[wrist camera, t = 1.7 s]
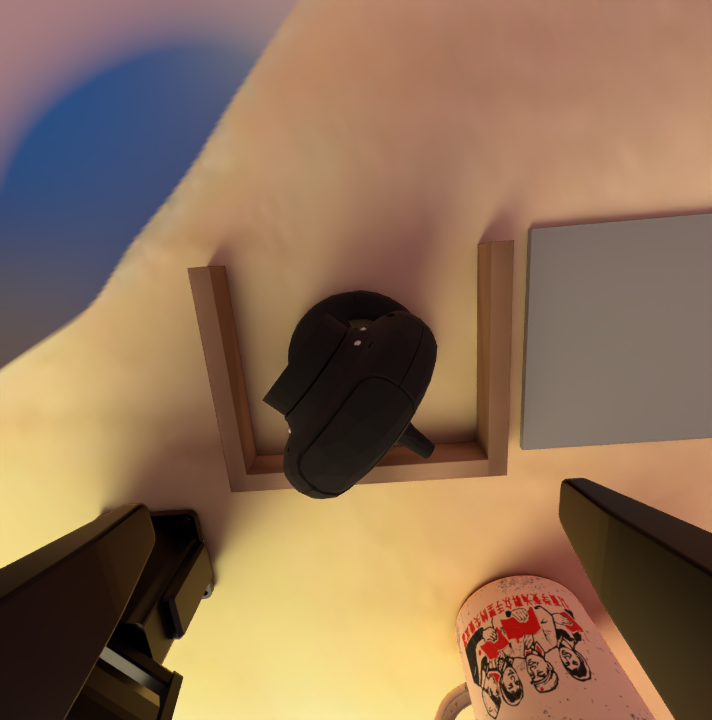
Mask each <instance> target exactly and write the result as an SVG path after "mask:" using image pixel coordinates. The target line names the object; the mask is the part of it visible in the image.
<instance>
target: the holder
mask: <svg viewBox="0 0 712 720" xmlns="http://www.w3.org/2000/svg"><path fill="white" fill-rule="evenodd" d="M513 255H514V240H510V241H498V242H489V243H483V244H478V277H477V442H464V443H449V444H434V445H435V448H434V451H433V453H432V455H431V456H430V457H429V458H427V459H425V458H423V457H421V456H420V455H418V454H416V453H415V452H413V451H411V450H410V449H408V448H406V447H393V448H392V449H391V450H390V451H389V452H388V454H387V455H386V456H385V457H384V458H383V459H382V460H381V461H380V462H379V463H378V464H377V465H376V466H375V467H374V468H373V469H372V470H371V471H370V472H369V473H368V474H367V475H365V476H364V477H363V478H362V479H361V480H359V481H358V482H357V483H356V484H355V485H357V484H373V483H389V482H405V481H421V480H438V479H454V478H470V477H486V476H502V475H507V458H508V424H509V390H510V356H511V323H512V289H513ZM188 273H189V279H190V284H191V289H192V294H193V299H194V304H195V309H196V314H197V319H198V324H199V330H200V335H201V340H202V345H203V350H204V355H205V360H206V365H207V370H208V375H209V380H210V386H211V391H212V396H213V401H214V406H215V411H216V416H217V421H218V426H219V431H220V437H221V442H222V447H223V452H224V457H225V462H226V467H227V472H228V477H229V482H230V488H231V492H244V491H260V490H276V489H292V488H294V487H293V486H292V485H291V484H290V482H289V481H288V480H287V478H286V477H285V474H284V470H283V458H284V454H281V455H266V456H257V454H256V448H255V442H254V436H253V430H252V425H251V419H250V413H249V407H248V401H247V395H246V389H245V383H244V378H243V372H242V366H241V360H240V354H239V348H238V342H237V336H236V331H235V325H234V319H233V313H232V307H231V301H230V295H229V289H228V284H227V278H226V272H225V266H207V267H196V268H188Z"/></svg>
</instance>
